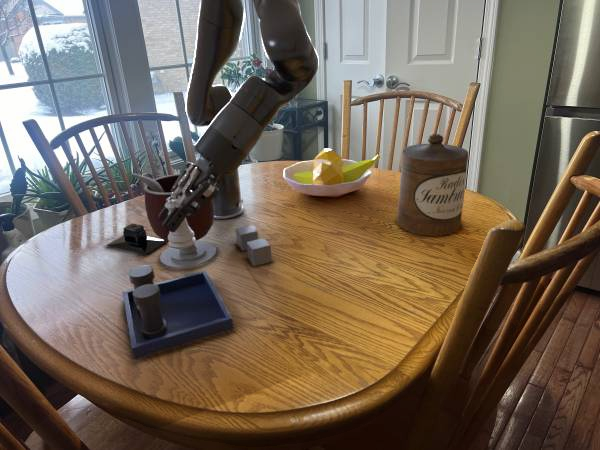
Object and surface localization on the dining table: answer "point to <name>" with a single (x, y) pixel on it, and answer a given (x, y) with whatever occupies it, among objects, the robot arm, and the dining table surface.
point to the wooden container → (432, 187)
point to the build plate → (136, 240)
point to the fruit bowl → (328, 174)
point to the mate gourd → (199, 223)
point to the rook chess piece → (179, 229)
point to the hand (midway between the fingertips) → (165, 224)
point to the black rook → (141, 277)
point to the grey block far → (245, 236)
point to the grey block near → (259, 252)
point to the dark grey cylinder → (150, 311)
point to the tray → (180, 314)
